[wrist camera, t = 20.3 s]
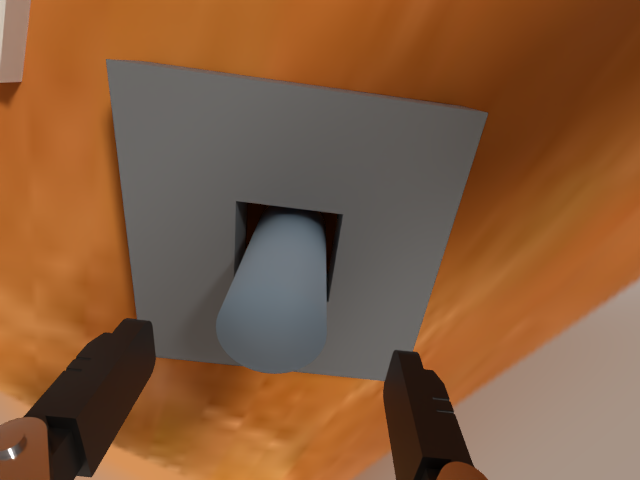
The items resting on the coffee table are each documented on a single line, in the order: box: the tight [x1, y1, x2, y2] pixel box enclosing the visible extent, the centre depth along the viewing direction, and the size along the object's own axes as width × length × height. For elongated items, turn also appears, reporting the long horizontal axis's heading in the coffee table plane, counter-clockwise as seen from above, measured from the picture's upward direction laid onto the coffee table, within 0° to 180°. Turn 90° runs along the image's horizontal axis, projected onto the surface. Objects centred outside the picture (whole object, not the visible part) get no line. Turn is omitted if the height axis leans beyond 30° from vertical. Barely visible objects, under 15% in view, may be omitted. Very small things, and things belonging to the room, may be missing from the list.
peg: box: [216, 205, 327, 374], centre depth 17 cm, size 4×4×9 cm
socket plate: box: [106, 59, 488, 381], centre depth 20 cm, size 16×16×3 cm
